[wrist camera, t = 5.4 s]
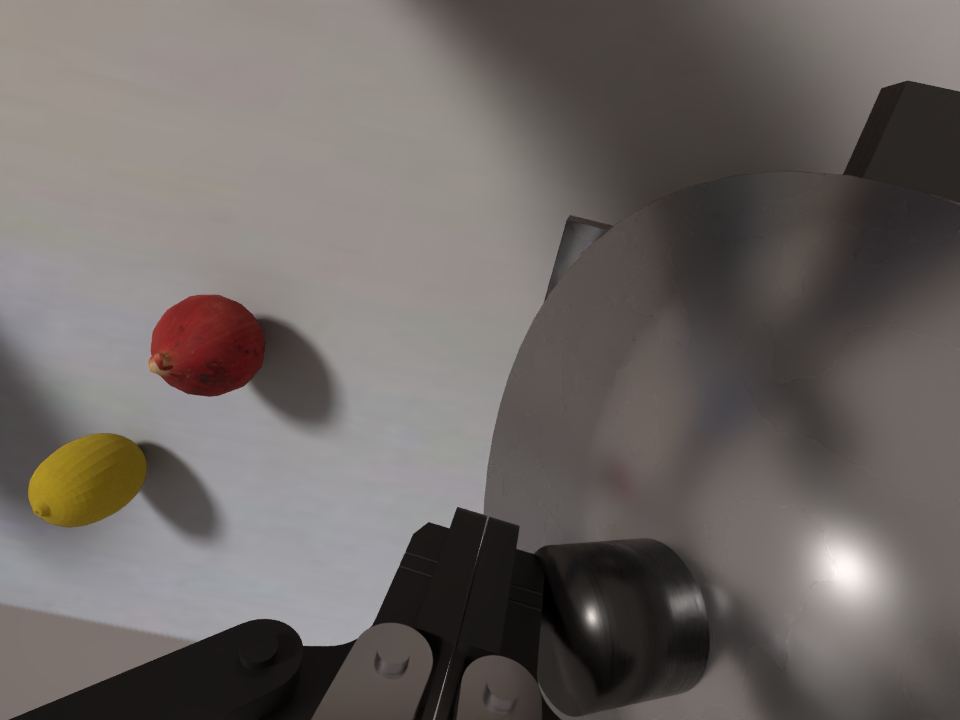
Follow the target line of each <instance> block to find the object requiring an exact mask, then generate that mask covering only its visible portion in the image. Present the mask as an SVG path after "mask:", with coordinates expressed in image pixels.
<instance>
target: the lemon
mask: <svg viewBox="0 0 960 720" xmlns="http://www.w3.org/2000/svg"><path fill="white" fill-rule="evenodd" d="M146 473H147V463H146V458H145V456H144V454H143V452H142V450H141V449H140V448H139V447H138V446H137V445H136V444H135V443H134V442H133V441H131V440H130V439H128V438H126V437H123V436H120V435H116V434H110V433H100V434H92V435H88V436H85V437H82V438H79V439H76V440H74V441H71V442H69V443H67V444H65V445H64V446H62V447H60V448H59V449H57V450H56V451H55V452H54V453H52V454H51V455H50V456H49V457H48V458H46V459H45V460H44V461H43V462H42V463H41V464H40V465H39V466H38V468H37V469H36V470H35V472H34V474H33V476H32V478H31V479H30V483H29V489H28V496H29V502H30V504H31V507H32V511H33V513H34V514H35V515H37V516H39V517H40V518H42V519H43V520H45V521H47V522H49V523H51V524H54V525H57V526H63V527H78V526H84V525H88V524H91V523H94V522H97V521H99V520H101V519H104V518H106V517H108V516H110V515H112V514H114V513H115V512H117V511H119V510H120V509H122V508H123V507H124V506H125V505H127V504H128V503H129V502H130V501H131V500H132V499H133V498H134V497H135V496H136V494H137V493H138V492H139V491H140V489H141V487H142V485H143V483H144V481H145V478H146Z"/></svg>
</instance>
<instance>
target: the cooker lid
mask: <svg viewBox="0 0 960 720" xmlns="http://www.w3.org/2000/svg"><path fill="white" fill-rule="evenodd" d="M484 515H486V516H487V520H486V524H485V528H484V532H485V529H486V525H487V522H488V519H489V516H490V517H493V518H496V519H500V520H503V521H506V522H510V523H513V524H516V525H519V526H520V528H519V535H518V541H517V547H516V549H519V550H522V551H525V552H529V553H532V554H535V556H536V557H537V559H538V561H539V563H540V564H541V566H542V569H543V571H544V573H545V577H544V589H543V602H542V610H541V612H542V615H541V628H540V641H539V654H538V666H537V680H538V685H539V688H540V691H541V694H542V696H543V698H544V700H545V701H546V703H547V704H548V706H549V707H550V708H551V710H552V711H553V712H554V713H555V714H556V715H557V716H558V717H559V718H560V719H561V720H960V203H957V202H954V201H951V200H947V199H944V198H941V197H938V196H934V195H931V194H928V193H924V192H920V191H915V190H911V189H907V188H902V187H898V186H894V185H889V184H885V183H881V182H876V181H872V180H868V179H863V178H859V177H855V176H849V175H835V174H821V173H807V172H793V171H783V172H771V173H760V174H748V175H737V176H731V177H727V178H723V179H719V180H715V181H711V182H707V183H703V184H699V185H695V186H691V187H688V188H685V189H683V190H680V191H678V192H676V193H673V194H671V195H669V196H666V197H664V198H662V199H659V200H657V201H654V202H652V203H650V204H648V205H647V206H645V207H643V208H642V209H640V210H638V211H637V212H635V213H634V214H632V215H630V216H629V217H627V218H625V219H624V220H622V221H620V222H619V223H617V224H616V225H615V226H614V227H612V228H611V229H610V230H609V231H608V232H606V233H605V234H604V235H603V236H601V237H600V238H599V239H598V240H597V241H595V242H594V243H593V244H592V245H591V246H590V247H589V248H588V249H587V250H586V251H585V252H584V253H583V254H582V255H581V256H580V257H579V258H578V259H577V260H576V261H575V262H574V263H573V264H572V266H571V267H570V268H569V269H568V270H567V271H566V273H565V274H564V275H563V277H562V278H561V279H560V281H559V282H558V283H557V284H556V286H555V287H554V288H553V290H552V291H551V292H550V294H549V295H548V297H547V299H546V300H545V302H544V304H543V305H542V307H541V308H540V310H539V312H538V313H537V315H536V317H535V318H534V320H533V322H532V324H531V326H530V328H529V330H528V332H527V334H526V336H525V338H524V340H523V342H522V344H521V346H520V349H519V351H518V354H517V356H516V359H515V361H514V364H513V367H512V369H511V372H510V374H509V377H508V380H507V384H506V387H505V390H504V393H503V397H502V400H501V403H500V407H499V411H498V416H497V420H496V424H495V429H494V433H493V438H492V444H491V450H490V456H489V462H488V470H487V479H486V489H485V498H484ZM484 532H483V536H484Z"/></svg>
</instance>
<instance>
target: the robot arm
mask: <svg viewBox="0 0 960 720" xmlns="http://www.w3.org/2000/svg"><path fill="white" fill-rule="evenodd" d="M486 520H487V516H486V515H483V514H479V513H476V512H473V511H469V510H466V509H463V508H459V507H457V509H456V512H455V515H454V518H453V521H452V523H451V526H450V529H449V528H446V527H443V526H439V525H436V524H433V523H430V522H428V523H427V524H426V525H424V526H423V527H422V528H421V529H419V530H418V531H417V532H415V533H414V534H413V536H412V538H411V541H410V543H409V545H408V547H407V550H406V553H405V554H404V556H403V559H402V561H401V563H400V566H399V568H398V570H397V572H396V574H395V577H394V579H393V581H392V583H391V586H390V588H389V590H388V592H387V595H386V597H385V599H384V601H383V604H382V606H381V608H380V610H379V613H378V615H377V617H376V619H375V621H374V623H373V625H372V626H371V627H370V628H369V629H367V630H366V631H364V632H363V633H362V634H361V635H360V636H359V638H358V639H356V640H354V641H352V642H349V643H346V644H343V645H337V646H303V644H302V641H301V638H300V636H299V635H298V633H297V632H296V631H295V630H294V629H293V628H292V627H290V626H289V625H287V624H285V623H283V622H280V621H277V620H272V619H257V620H252V621H248V622H245V623H242V624H240V625H237V626H235V627H233V628H230V629H228V630H225V631H223V632H220V633H218V634H216V635H213V636H211V637H208V638H206V639H203V640H201V641H199V642H196V643H194V644H191V645H189V646H187V647H185V648H182V649H179V650H177V651H174V652H172V653H170V654H167V655H165V656H162V657H160V658H157V659H155V660H153V661H150V662H148V663H145V664H143V665H141V666H138V667H136V668H133V669H131V670H128V671H126V672H123V673H121V674H119V675H116V676H114V677H111V678H109V679H106V680H104V681H102V682H99V683H97V684H94V685H92V686H90V687H87V688H85V689H82V690H80V691H78V692H75V693H73V694H70V695H68V696H65V697H63V698H60V699H58V700H56V701H53V702H51V703H48V704H46V705H43V706H41V707H39V708H36V709H34V710H31V711H29V712H27V713H24V714H22V715H19V716H17V717H14V718H12V719H10V720H433V717H434V714H435V710H436V707H437V704H438V700H439V696H440V693H441V690H442V686H443V683H444V679H445V676H446V679H445V683H444V687H443V691H442V695H441V699H440V703H439V707H438V710H437V714H436V718H435V720H561V719H560V718H559V717H558V716H557V715H556V714H555V713H554V712H553V711H552V710H551V708H550V707H549V706H548V704H547V703H546V701H545V700H544V698H543V696H542V694H541V691H540V688H539V685H538V680H537V666H538V654H539V641H540V628H541V615H542V612H541V610H542V602H543V589H544V577H545V573H544V571H543V569H542V566H541V564H540V563H539V561H538V559H537V557H536V556H535V554H532V553H529V552H525V551H522V550H519V549H516V547H517V541H518V535H519V528H520V526H519V525H516V524H513V523H510V522H506V521H503V520H500V519H496V518H493V517H490V516H489V519H488V522H487V525H486V529H485V532H484V528H485V524H486ZM483 532H484V536H483ZM482 536H483V539H482ZM481 540H482V543H481ZM480 543H481V546H480ZM479 547H480V550H479ZM478 551H479V553H478ZM477 555H478V557H477ZM476 559H477V560H476ZM475 563H476V564H475ZM451 655H452V656H451ZM449 662H450V663H449ZM448 665H449V667H448ZM447 669H448V671H447ZM446 672H447V675H446Z"/></svg>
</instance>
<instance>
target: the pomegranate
mask: <svg viewBox="0 0 960 720" xmlns="http://www.w3.org/2000/svg"><path fill="white" fill-rule="evenodd" d="M265 344H266V343H265V340H264V336H263V332H262V329H261V327H260V325H259V324H258V322H257V320H256V319H255V317H254V316H253V314H252V313H251V312H249V311H248V310H247V309H246V308H245V307H244V306H243V305H242V304H240V303H238V302H236V301H233V300H231V299H228V298H225V297H223V296H220V295H196V296H190V297H188V298H186V299H185V300H183V301H181V302H180V303H178V304H176V305H174V306H173V307H171V308H170V309H168V310H167V311H166V312H165V313H164V315H163V316H162V317H161V319H160V320H159V322H158V324H157V325H156V327H155V329H154V331H153V334H152V343H151V355H152V356H151V358H150V359H149V361H148V365H149V368H150V371H151V372H153V373H156V374H158V375H160V376H161V377H162V378H163V379H164V380H165V381H166V382H167V383H168V384H169V385H171V386H173V387H175V388H177V389H179V390H181V391H183V392H185V393H187V394H192V395H201V396H209V397H210V396H219V395H222V394H224V393H227V392H230V391H232V390H235V389H238V388H241V387H243V386H245V385H246V384H247V383H248V382H249V381H250V380H251V379H252V378H253V377H254V375H255V374H256V373H257V372H258V370H259V369H260V368H261V367H262V363H263V359H264V352H265Z"/></svg>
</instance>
